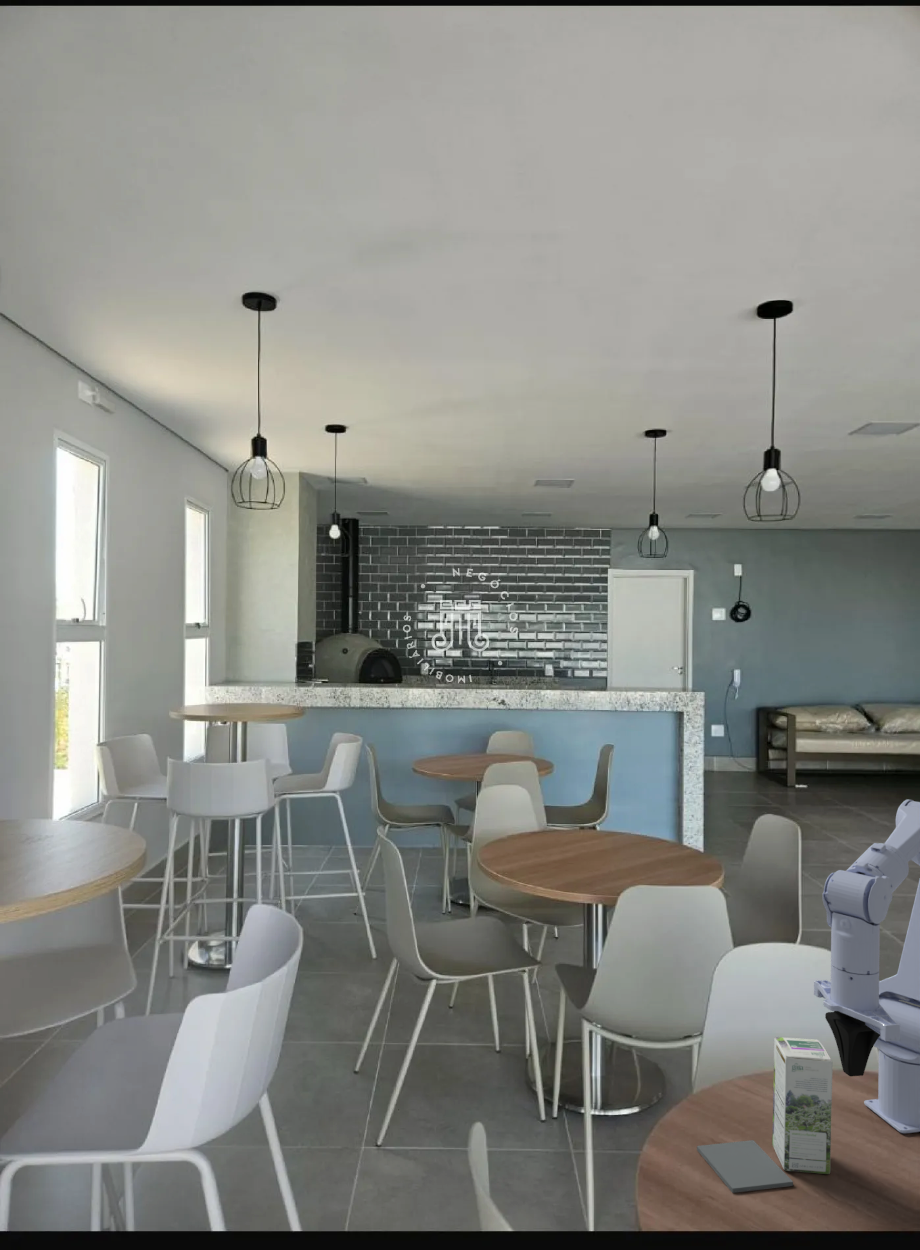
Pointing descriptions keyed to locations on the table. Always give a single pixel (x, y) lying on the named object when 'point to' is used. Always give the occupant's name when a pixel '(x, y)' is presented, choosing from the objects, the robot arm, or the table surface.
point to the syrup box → (802, 1105)
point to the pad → (744, 1166)
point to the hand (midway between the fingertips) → (853, 1073)
